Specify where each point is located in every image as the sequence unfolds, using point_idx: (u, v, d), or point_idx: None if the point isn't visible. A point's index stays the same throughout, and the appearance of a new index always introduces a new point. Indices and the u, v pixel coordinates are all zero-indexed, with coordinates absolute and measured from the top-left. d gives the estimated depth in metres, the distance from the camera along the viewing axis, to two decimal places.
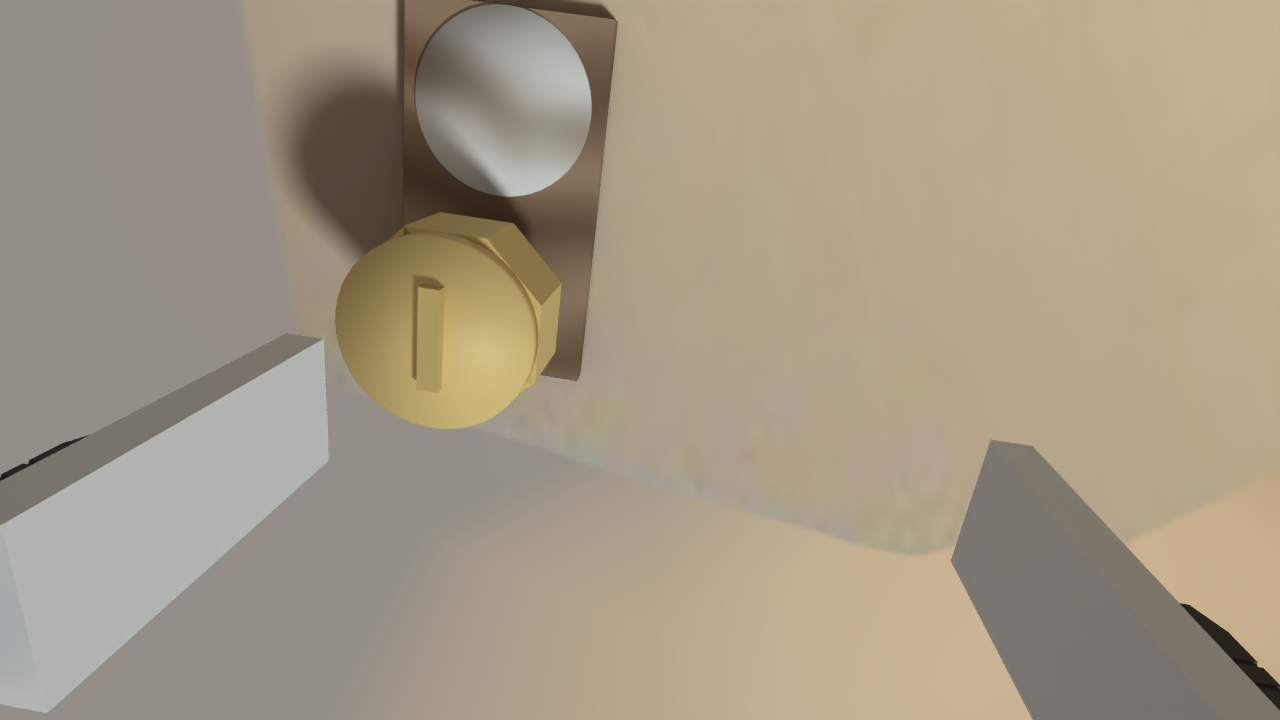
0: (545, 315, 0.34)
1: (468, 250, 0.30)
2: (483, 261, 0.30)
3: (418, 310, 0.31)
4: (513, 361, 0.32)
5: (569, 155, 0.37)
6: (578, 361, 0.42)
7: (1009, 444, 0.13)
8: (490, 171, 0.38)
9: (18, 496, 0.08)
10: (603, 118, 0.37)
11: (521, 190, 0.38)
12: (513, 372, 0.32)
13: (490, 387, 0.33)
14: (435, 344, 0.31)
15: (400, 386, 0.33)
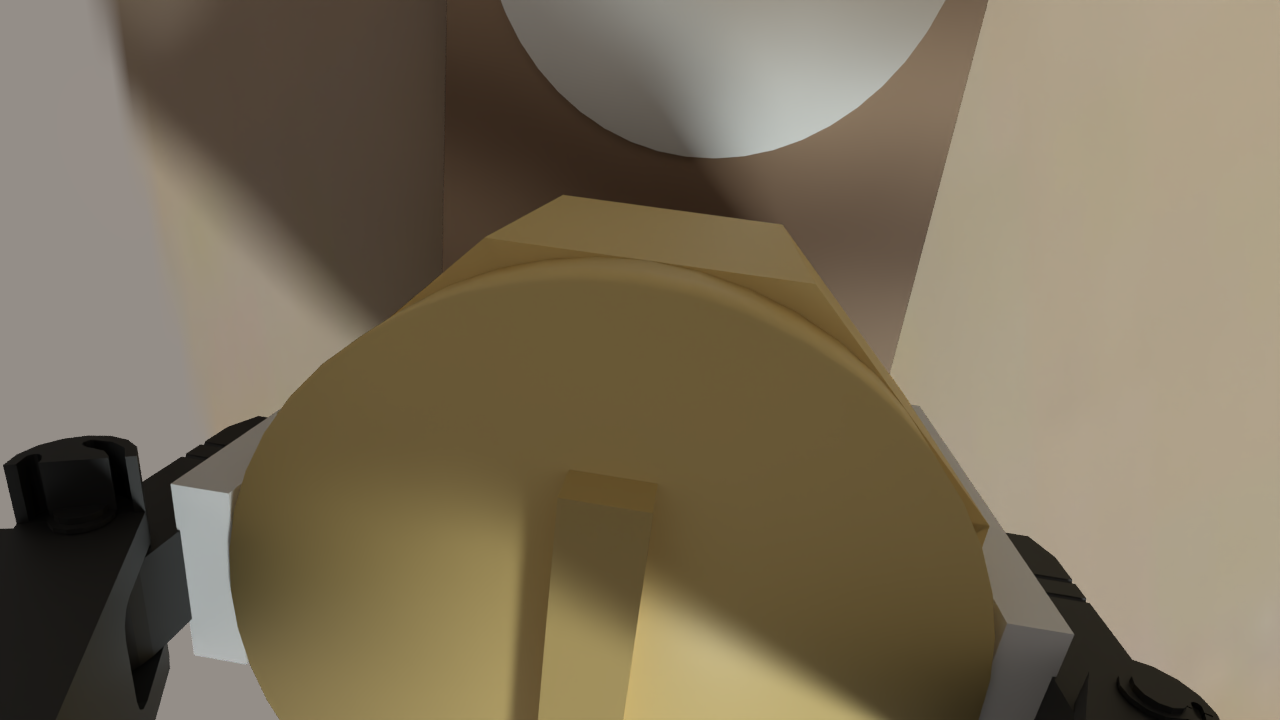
0: None
1: (780, 341, 0.07)
2: (842, 387, 0.07)
3: (553, 583, 0.08)
4: None
5: (894, 42, 0.14)
6: None
7: None
8: (672, 92, 0.15)
9: (231, 470, 0.09)
10: None
11: (750, 141, 0.15)
12: None
13: None
14: (614, 702, 0.08)
15: None
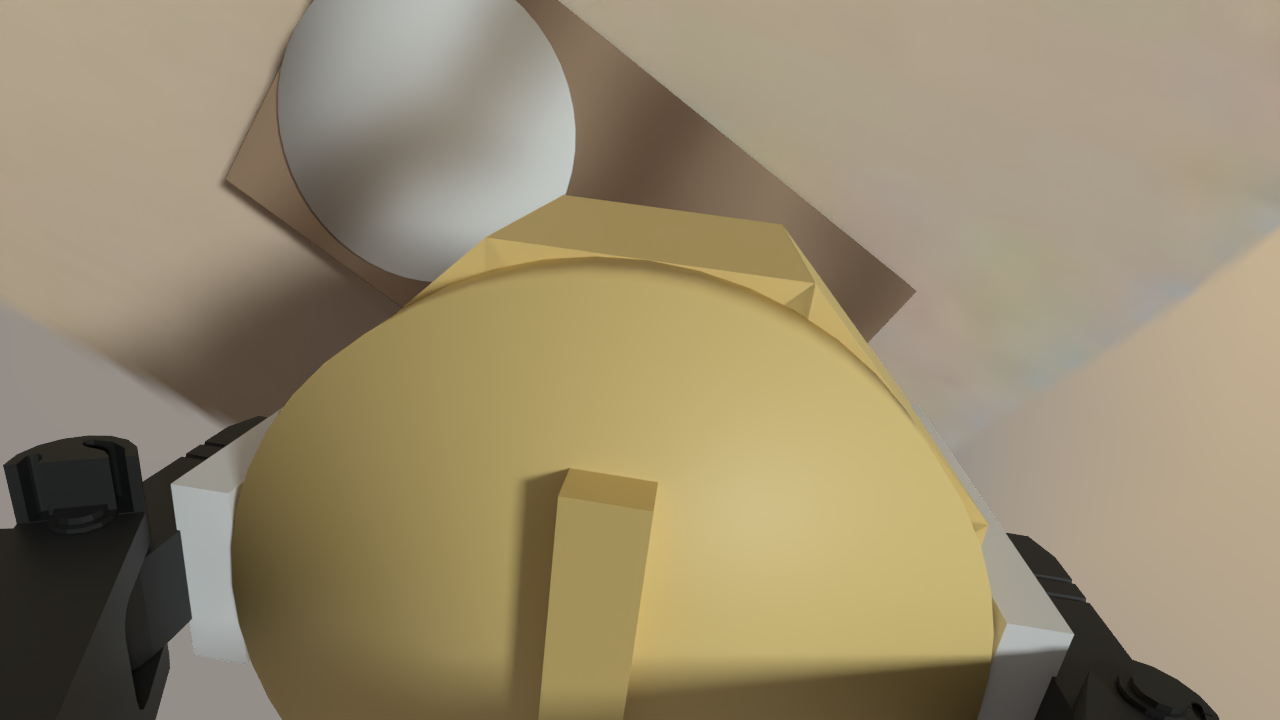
0: None
1: (780, 340, 0.07)
2: (841, 385, 0.07)
3: (554, 581, 0.08)
4: None
5: (545, 66, 0.21)
6: (884, 267, 0.21)
7: None
8: (508, 213, 0.22)
9: (231, 469, 0.09)
10: None
11: (559, 182, 0.22)
12: None
13: None
14: (615, 699, 0.08)
15: None
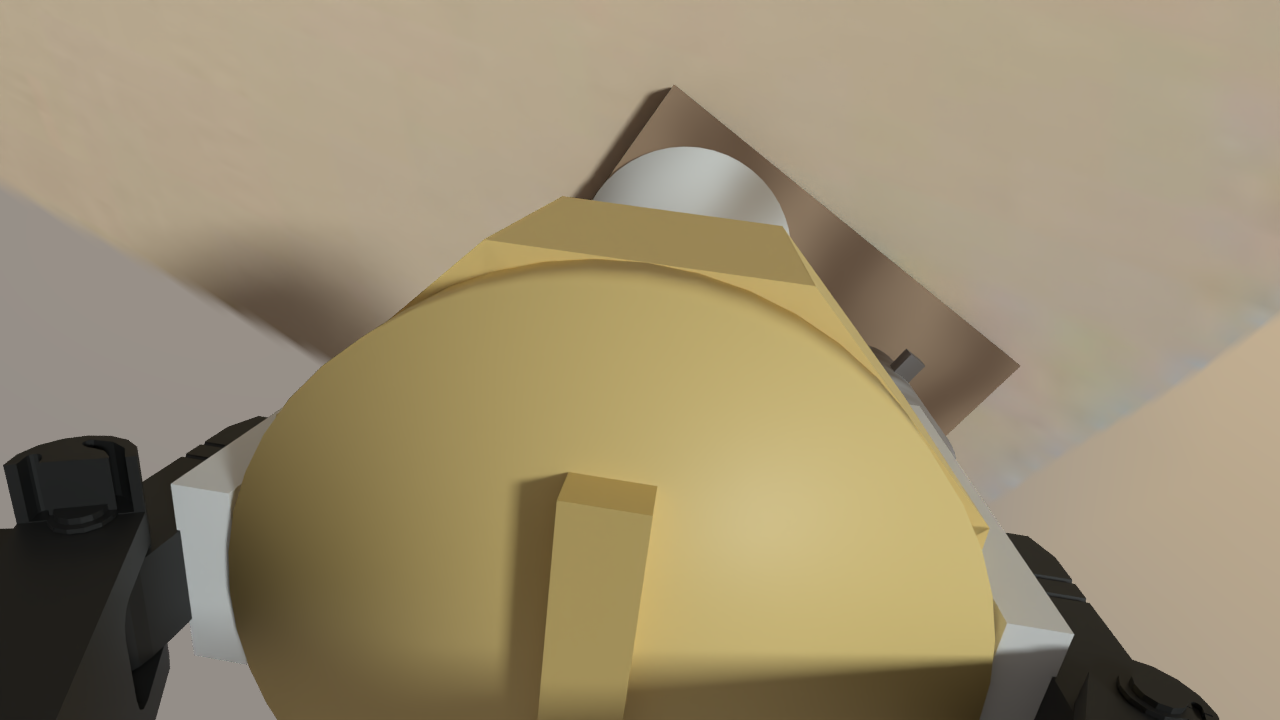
0: None
1: (780, 344, 0.07)
2: (841, 389, 0.07)
3: (553, 586, 0.08)
4: None
5: (774, 218, 0.30)
6: (999, 349, 0.31)
7: None
8: None
9: (231, 470, 0.09)
10: (761, 157, 0.30)
11: None
12: None
13: None
14: (614, 705, 0.08)
15: None
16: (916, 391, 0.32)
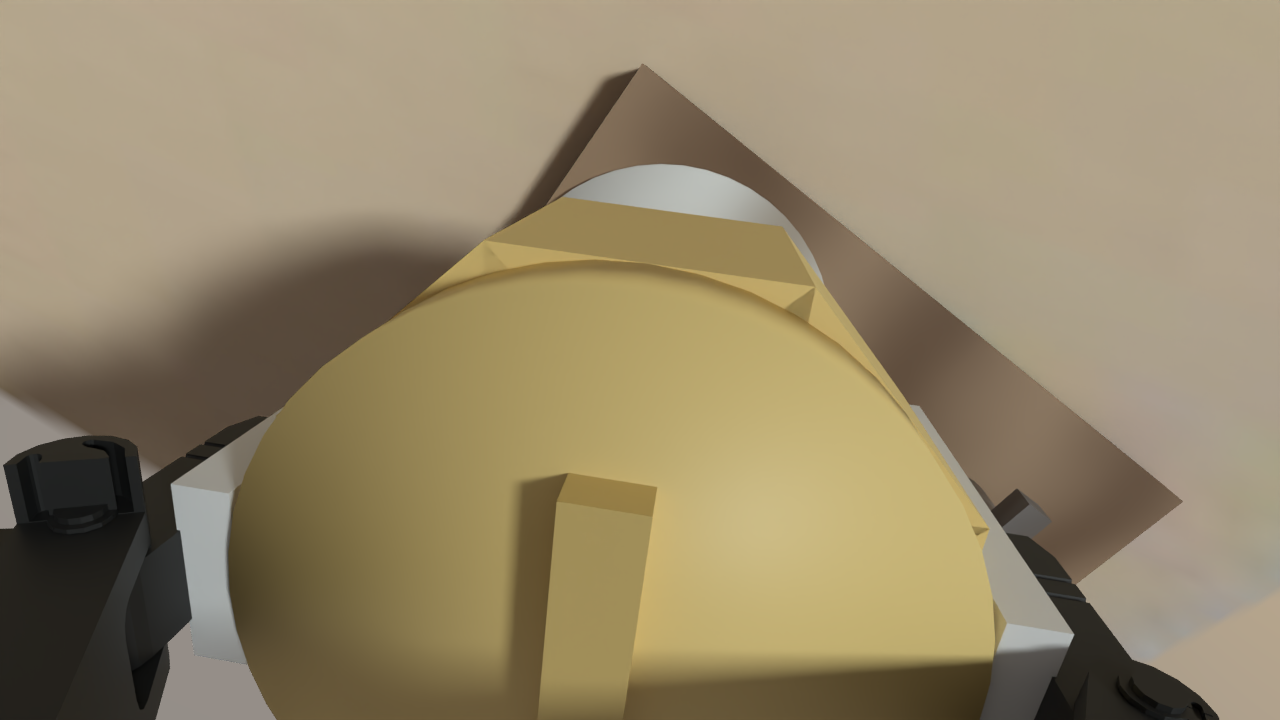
0: None
1: (780, 344, 0.07)
2: (841, 390, 0.07)
3: (552, 587, 0.08)
4: None
5: None
6: (1150, 477, 0.20)
7: None
8: None
9: (231, 470, 0.09)
10: (784, 181, 0.18)
11: None
12: None
13: None
14: (614, 706, 0.08)
15: None
16: None
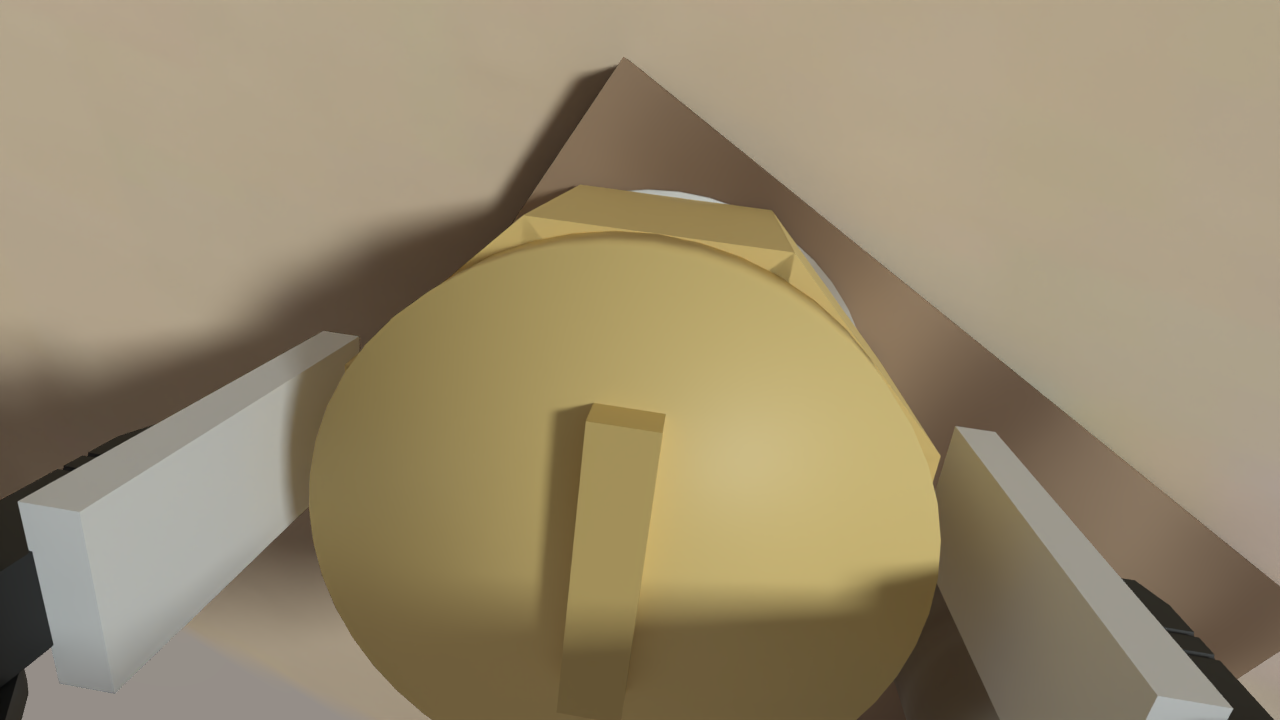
0: None
1: (764, 294, 0.09)
2: (813, 331, 0.09)
3: (581, 494, 0.09)
4: (863, 633, 0.10)
5: None
6: None
7: (973, 430, 0.13)
8: None
9: (91, 485, 0.08)
10: (811, 212, 0.14)
11: None
12: (857, 662, 0.10)
13: (774, 697, 0.11)
14: (630, 595, 0.10)
15: (501, 683, 0.11)
16: None
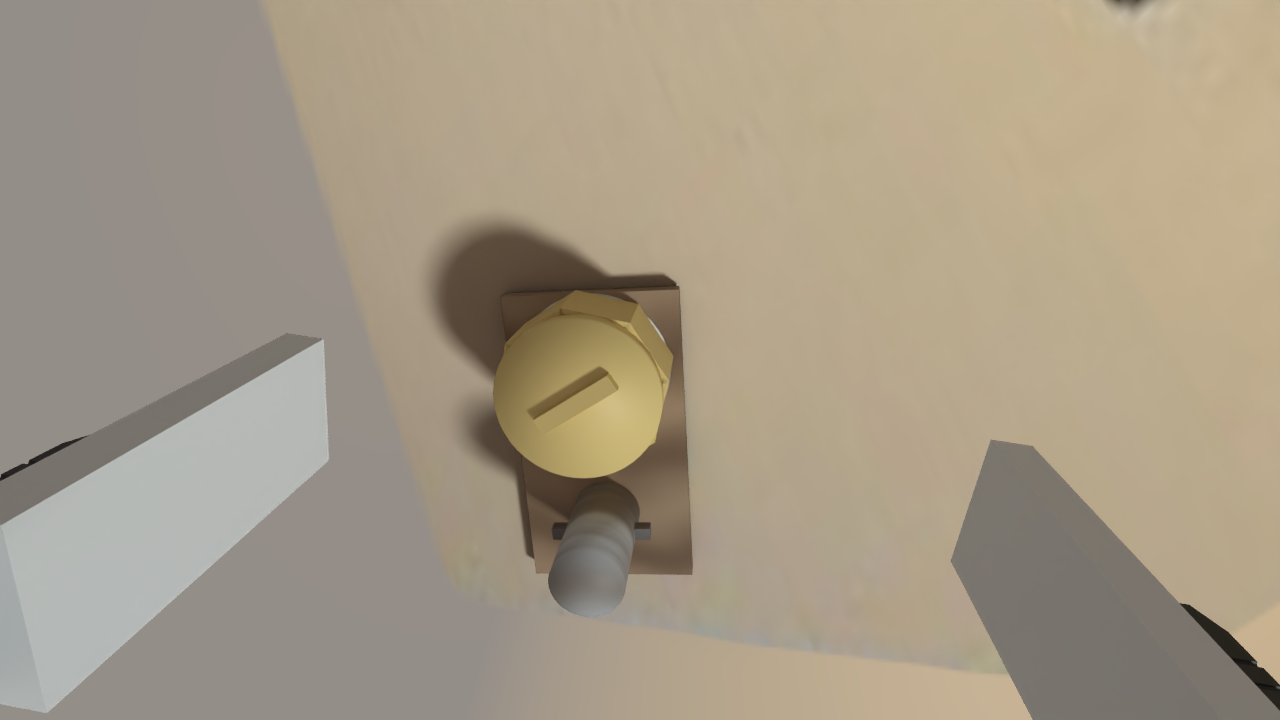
0: None
1: (657, 385, 0.37)
2: (658, 399, 0.37)
3: (590, 386, 0.37)
4: (608, 461, 0.39)
5: None
6: (690, 558, 0.47)
7: (1009, 444, 0.13)
8: None
9: (18, 496, 0.08)
10: (681, 365, 0.43)
11: None
12: (600, 466, 0.39)
13: (576, 458, 0.39)
14: (577, 412, 0.38)
15: (520, 403, 0.38)
16: (634, 541, 0.47)
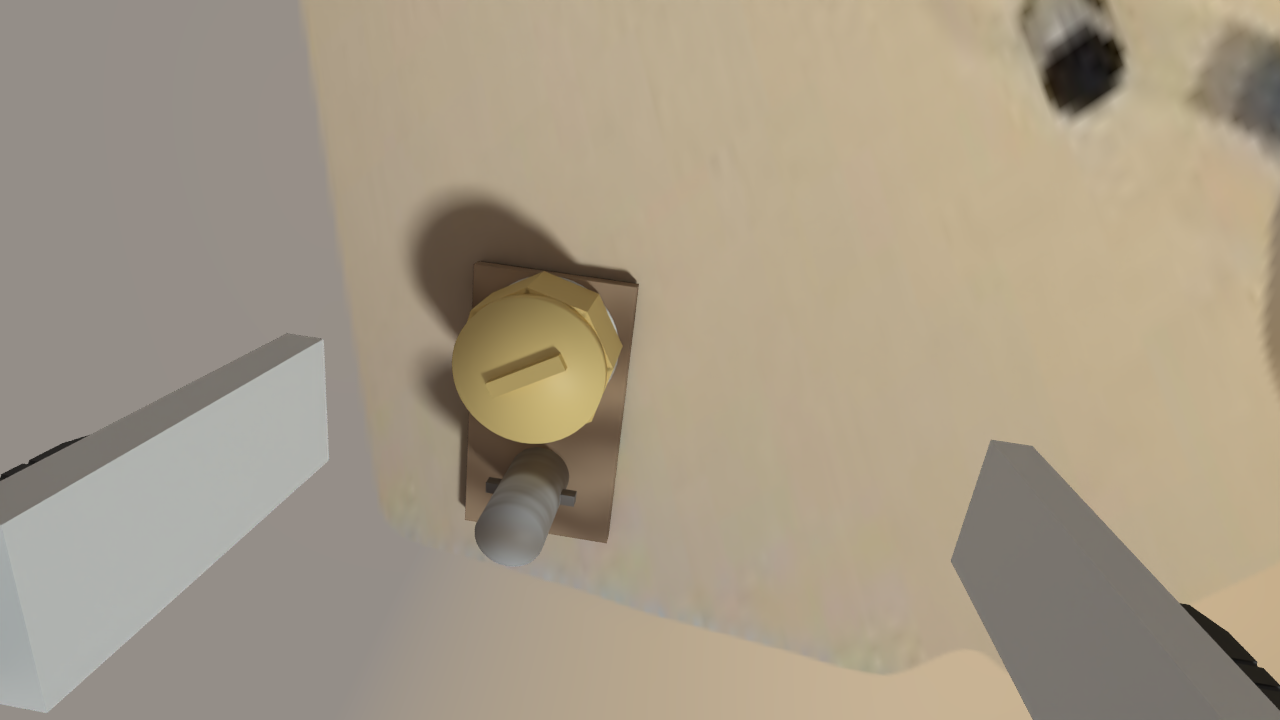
0: None
1: (602, 371, 0.41)
2: (600, 384, 0.42)
3: (542, 362, 0.41)
4: (546, 431, 0.43)
5: None
6: (607, 528, 0.52)
7: (1009, 444, 0.13)
8: None
9: (18, 496, 0.08)
10: (628, 355, 0.47)
11: None
12: (539, 434, 0.43)
13: (518, 424, 0.43)
14: (526, 383, 0.41)
15: (476, 366, 0.42)
16: (560, 505, 0.52)
